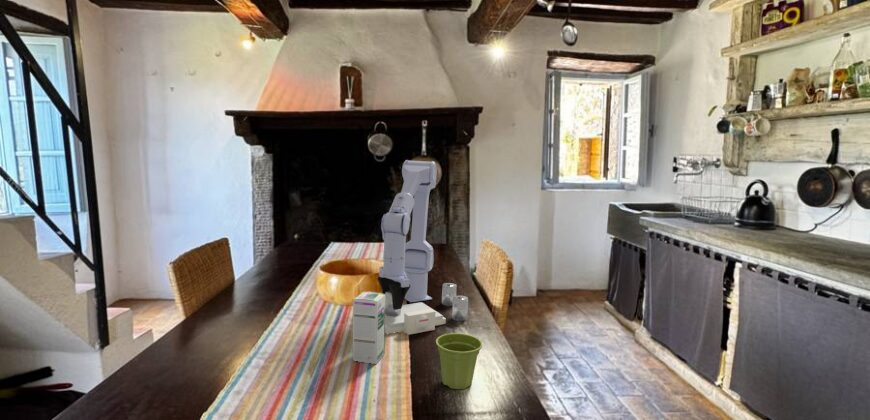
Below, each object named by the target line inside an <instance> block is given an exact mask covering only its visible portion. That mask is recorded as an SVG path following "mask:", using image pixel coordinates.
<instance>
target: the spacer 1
mask: <svg viewBox="0 0 870 420" xmlns="http://www.w3.org/2000/svg"><path fill="white" fill-rule="evenodd" d="M385 315H387V316H399V315H401V309H398V310H394V309H393V304H392V294H391V290H388V291H386V295H385Z"/></svg>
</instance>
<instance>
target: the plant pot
mask: <svg viewBox="0 0 870 420" xmlns="http://www.w3.org/2000/svg"><path fill="white" fill-rule="evenodd" d="M435 345H436V346H437V349H438V352H439V361H440V370H441V372H440V373H441V381H442V384H443V385H445V386H447V387H449V388H450V389H454V390H463V389H467V388H468V387H469V386H471V385H472V383H473V379H474V373H475V369H476V364H477V358H478V355H479V353H480V350H481V349H482V348H483V342H482V340H481V339H479V338H477V337H476V336H474V335H471V334H466V333H453V332H451V333H445V334H441V335H440V336H438V337H437V338H436V340H435Z"/></svg>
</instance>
